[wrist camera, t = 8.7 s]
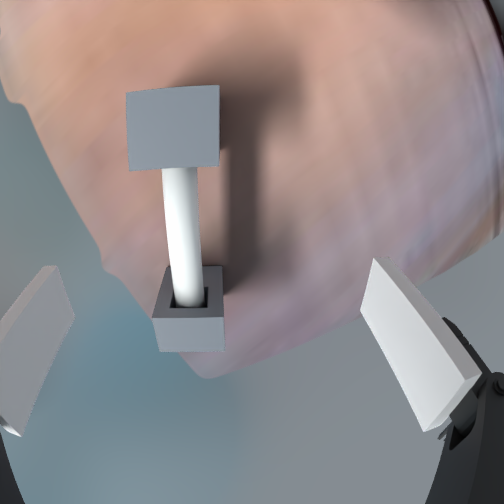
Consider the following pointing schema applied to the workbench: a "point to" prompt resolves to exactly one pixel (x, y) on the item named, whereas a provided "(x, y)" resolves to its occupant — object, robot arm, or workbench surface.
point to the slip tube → (184, 235)
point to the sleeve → (173, 127)
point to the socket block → (191, 317)
